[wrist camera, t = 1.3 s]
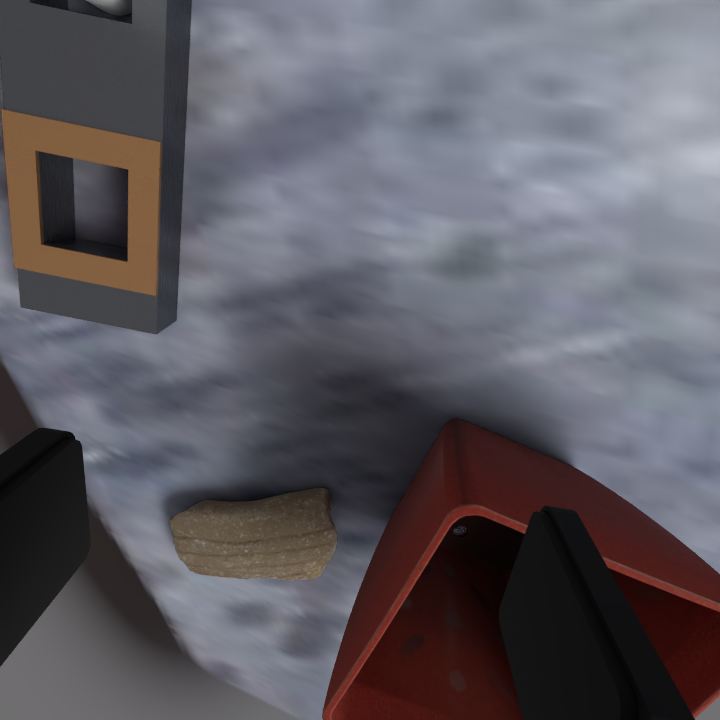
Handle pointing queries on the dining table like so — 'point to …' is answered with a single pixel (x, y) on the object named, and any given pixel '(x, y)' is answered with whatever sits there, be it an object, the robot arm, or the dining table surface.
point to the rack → (96, 154)
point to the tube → (113, 6)
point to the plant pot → (502, 586)
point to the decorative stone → (258, 536)
